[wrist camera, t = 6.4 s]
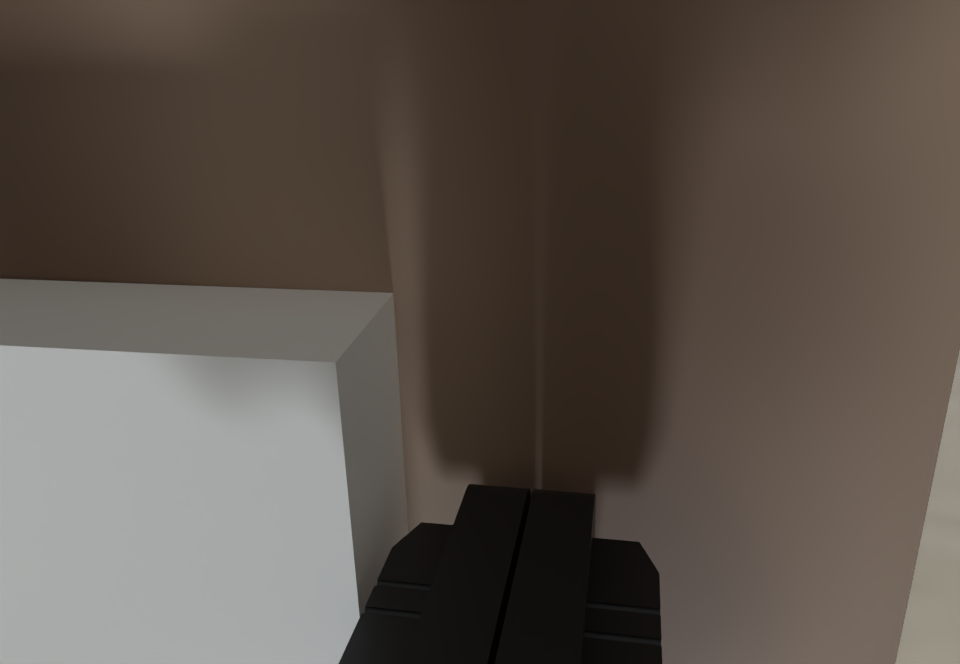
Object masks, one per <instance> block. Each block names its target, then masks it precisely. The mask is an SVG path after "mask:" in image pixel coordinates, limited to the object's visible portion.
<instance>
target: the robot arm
mask: <svg viewBox="0 0 960 664" xmlns="http://www.w3.org/2000/svg"><path fill="white" fill-rule="evenodd" d="M595 508H596V494H592V493H579V492H567V491H555V490H543V489H534V491H533V494H532V498H531V490H530V489H528V488H515V487H503V486H491V485H479V484H469V485H468V486H467V489H466V491H465V494H464V496H463V499H462V502H461V505H460V507H459V510H458V513H457V516H456V519H455V521H454V524H453V525H447V524H436V523H425V522H421V523H420V524H419V525H418V526H416V527H415V528H414V529H413V530H412V531H411V532H409V533H408V534H407V535H406V536H405V537H404V538H402V539H401V540H400V541H399V542H398V543H397V544H395V545H394V546H393V547H392V549H391V551H390V553H389V555H388V557H387V559H386V562H385V564H384V566H383V568H382V570H381V572H380V575H379V577H378V579H377V586H374V588H373V590H372V592H371V594H370V596H369V599H368V601H367V603H366V605H365V612H364V613H362V614H361V616H360V618H359V620H358V622H357V625H356V627H355V629H354V631H353V633H352V635H351V638H350V640H349V642H348V644H347V646H346V649H345V651H344V653H343V655H342V657H341V659H340V662H339V664H662V647H661V640H662V637H661V616H660V610H661V606H660V576H659V572H658V570H657V569H656V567H655V565H654V564H653V562H652V561H651V559H650V558H649V556H648V554H647V553H646V551H645V550H644V548H643V547H642V545H641V543H640V542H636V541H625V540H614V539H603V538H594V535H595Z"/></svg>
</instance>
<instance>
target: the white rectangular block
mask: <svg viewBox="0 0 960 664" xmlns="http://www.w3.org/2000/svg"><path fill="white" fill-rule="evenodd" d="M408 533H409V531H408V515H407V499H406V484H405V468H404V452H403V437H402V421H401V405H400V390H399V374H398V358H397V343H396V327H395V311H394V296H393V293H385V292H357V291H330V290H302V289H274V288H246V287H219V286H191V285H163V284H135V283H108V282H80V281H52V280H25V279H0V664H339V662H340V659H341V657H342V655H343V653H344V651H345V649H346V646H347V644H348V642H349V640H350V638H351V635H352V633H353V631H354V629H355V627H356V625H357V622H358V620H359V618H360V616H361V614H362V613H364V612H365V605H366V603H367V601H368V599H369V596H370V594H371V592H372V590H373V588H374V586H377V579H378V577H379V575H380V572H381V570H382V568H383V566H384V564H385V562H386V559H387V557H388V555H389V553H390V551H391V549H392V547H393V546H394V545H395V544H397V543H398V542H399V541H400V540H401V539H402V538H404V537H405V536H406V535H407V534H408Z"/></svg>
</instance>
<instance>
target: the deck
mask: <svg viewBox="0 0 960 664" xmlns="http://www.w3.org/2000/svg"><path fill="white" fill-rule="evenodd" d="M0 279H25V280H52V281H80V282H108V283H135V284H163V285H191V286H219V287H246V288H274V289H302V290H330V291H357V292H385V293H393V296H394V311H395V327H396V343H397V358H398V374H399V390H400V405H401V421H402V437H403V452H404V468H405V484H406V499H407V515H408V531H409V532H411V531H412V530H413V529H414V528H415V527H416V526H418V525H419V524H420V523H421V522H425V523H436V524H447V525H453V524H454V521H455V519H456V516H457V513H458V510H459V507H460V505H461V502H462V499H463V496H464V494H465V491H466V489H467V486H468V485H469V484H479V485H491V486H503V487H515V488H528V489H530V490H531V498H532V494H533V491H534V489H543V490H555V491H567V492H579V493H592V494H596V508H595V535H594V538H603V539H614V540H625V541H636V542H640V543H641V545H642V547H643V548H644V550H645V551H646V553H647V554H648V556H649V558H650V559H651V561H652V562H653V564H654V565H655V567H656V569H657V570H658V572H659V576H660V606H661V610H660V616H661V637H662V640H661V647H662V664H895V662H896V657H897V652H898V647H899V642H900V637H901V633H902V628H903V623H904V618H905V613H906V608H907V603H908V598H909V593H910V589H911V584H912V579H913V574H914V569H915V564H916V559H917V554H918V549H919V545H920V540H921V535H922V530H923V525H924V520H925V515H926V510H927V505H928V501H929V496H930V491H931V486H932V481H933V476H934V471H935V466H936V461H937V457H938V452H939V447H940V442H941V437H942V432H943V427H944V422H945V417H946V413H947V408H948V403H949V398H950V393H951V388H952V383H953V378H954V373H955V369H956V364H957V359H958V354H959V349H960V0H0Z"/></svg>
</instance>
